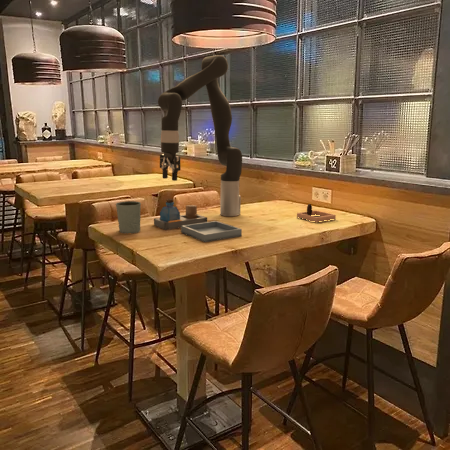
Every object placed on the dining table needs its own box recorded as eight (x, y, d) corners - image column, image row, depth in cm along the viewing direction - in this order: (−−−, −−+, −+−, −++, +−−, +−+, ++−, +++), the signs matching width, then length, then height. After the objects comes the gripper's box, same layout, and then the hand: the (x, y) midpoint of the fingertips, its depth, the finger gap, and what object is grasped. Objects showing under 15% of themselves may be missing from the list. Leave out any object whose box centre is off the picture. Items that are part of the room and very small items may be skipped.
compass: (321, 221, 219) (322, 206, 218) (305, 219, 223) (306, 204, 221) (326, 218, 226) (327, 203, 225) (310, 216, 230) (311, 202, 228)
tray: (216, 227, 203) (216, 220, 203) (241, 236, 189) (241, 228, 189) (181, 232, 193) (181, 225, 193) (204, 242, 179) (204, 234, 178)
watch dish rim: (315, 215, 233) (315, 210, 232) (335, 219, 222) (335, 214, 222) (296, 218, 225) (297, 213, 225) (316, 223, 215) (316, 217, 214)
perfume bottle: (171, 223, 209) (171, 197, 206) (180, 226, 205) (179, 199, 202) (160, 226, 205) (159, 199, 202) (168, 228, 200) (168, 201, 198)
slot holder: (194, 219, 218) (194, 212, 217) (207, 223, 210) (207, 216, 209) (153, 225, 206) (153, 217, 205) (165, 229, 197) (165, 222, 197)
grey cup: (141, 233, 191) (140, 205, 188) (116, 234, 189) (115, 205, 186) (141, 228, 200) (140, 200, 198) (117, 228, 199) (116, 201, 196)
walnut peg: (193, 221, 214) (193, 204, 212) (198, 223, 210) (198, 206, 209) (183, 222, 211) (183, 205, 210) (189, 224, 207) (189, 207, 206)
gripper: (186, 142, 193) (185, 181, 197) (169, 140, 204) (169, 177, 208) (170, 142, 189) (170, 181, 192) (154, 140, 200) (154, 178, 204)
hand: (169, 179), depth 200 cm, fingers open, 8 cm apart
